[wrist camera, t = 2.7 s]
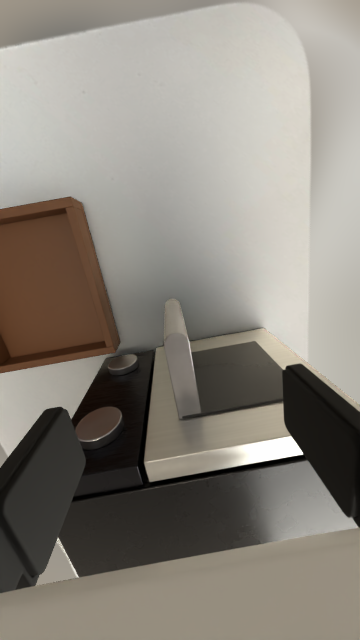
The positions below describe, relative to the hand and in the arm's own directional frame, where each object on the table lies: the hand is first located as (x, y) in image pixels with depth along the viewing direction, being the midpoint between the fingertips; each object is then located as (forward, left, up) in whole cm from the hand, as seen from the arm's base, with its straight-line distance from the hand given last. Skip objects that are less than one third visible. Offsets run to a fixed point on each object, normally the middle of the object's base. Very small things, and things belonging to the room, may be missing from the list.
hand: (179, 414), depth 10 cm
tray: (+7, -13, -18) cm, 23 cm away
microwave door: (-2, +4, -18) cm, 18 cm away
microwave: (+10, +12, -18) cm, 23 cm away
